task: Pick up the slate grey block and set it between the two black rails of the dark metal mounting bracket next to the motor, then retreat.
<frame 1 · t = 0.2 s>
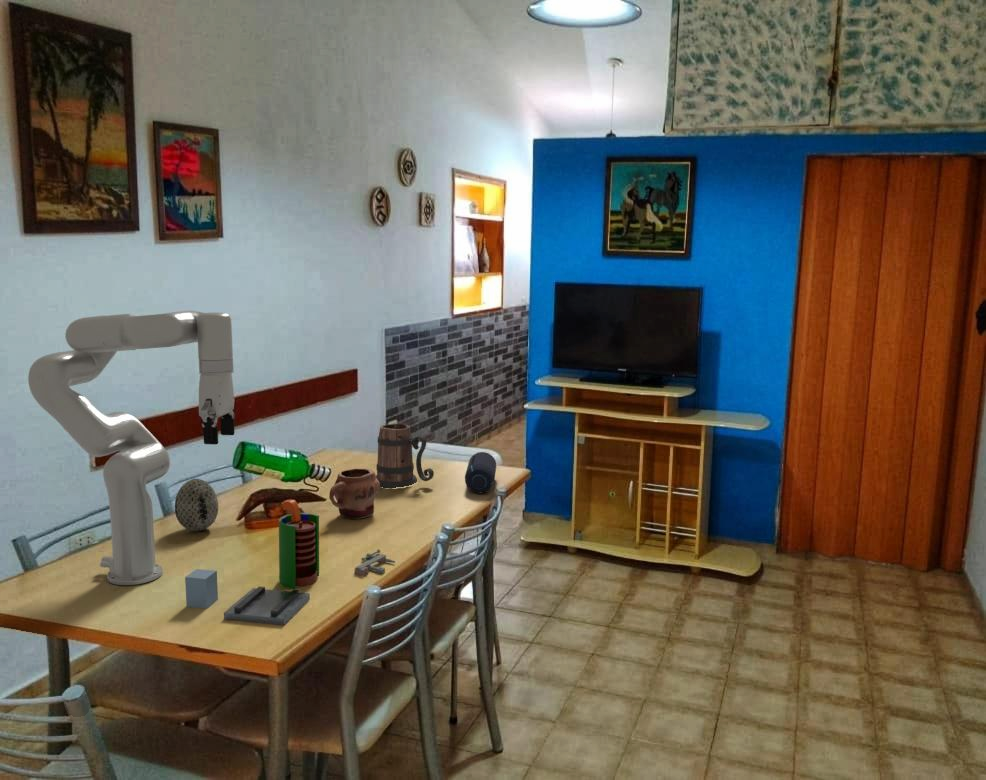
hand: (219, 439, 199), 36 cm above the table, tool pointing down, fingers open, 9 cm apart
clay mug: (353, 517, 258), on the table
motor: (298, 581, 208), on the table
mounting bracket: (268, 609, 192), on the table
decorative egg: (197, 530, 244), on the table
clamp: (375, 567, 219), on the table
tankard: (403, 484, 296), on the table
slate grey block: (202, 603, 194), on the table
portable speaker: (480, 486, 294), on the table
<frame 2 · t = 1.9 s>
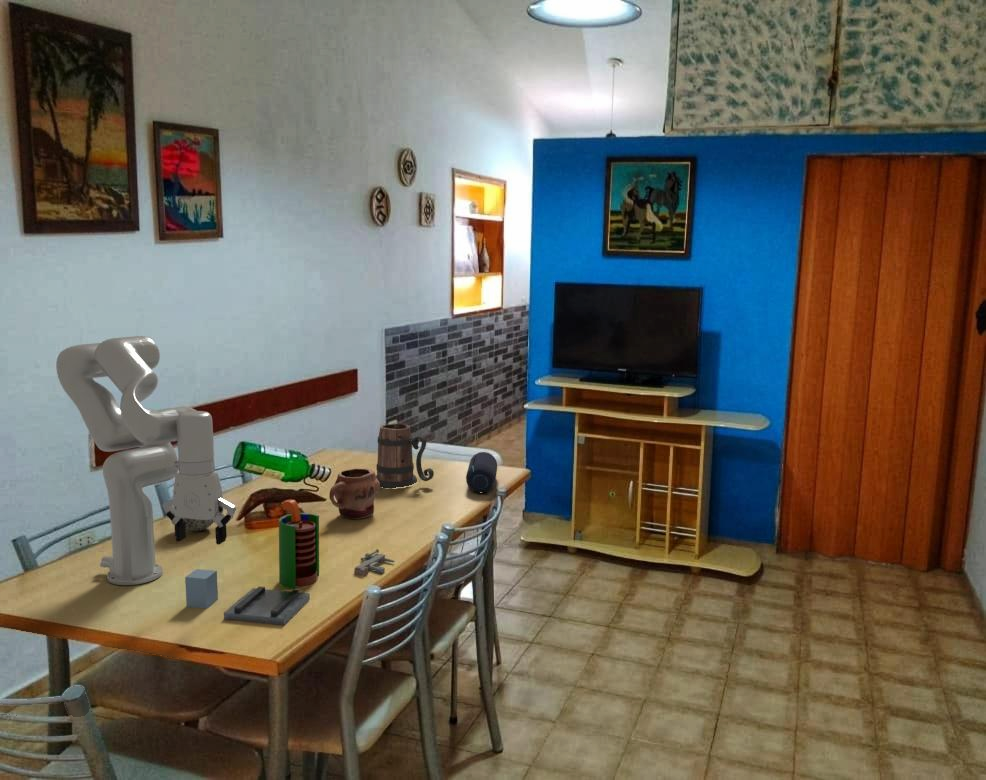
hand: (201, 541, 192), 15 cm above the table, tool pointing down, fingers open, 9 cm apart
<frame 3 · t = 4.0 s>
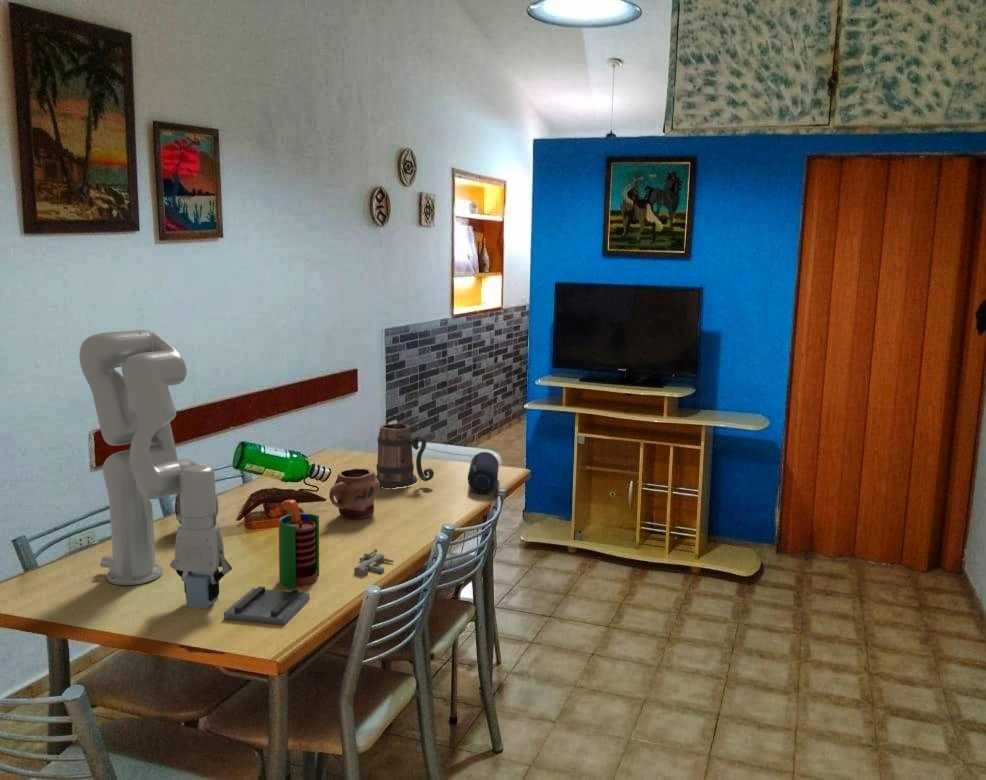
hand: (202, 596, 194), 1 cm above the table, tool pointing down, fingers closed on slate grey block, 5 cm apart
slate grey block: (202, 602, 194), on the table, touching gripper
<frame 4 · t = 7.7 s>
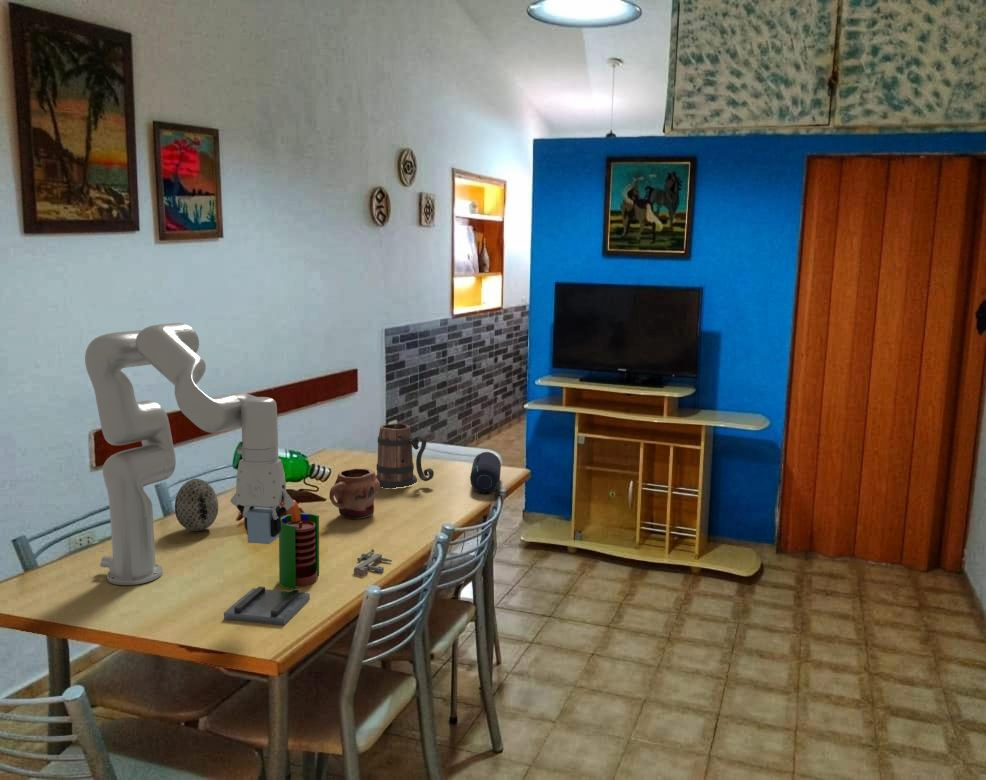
hand: (263, 533, 189), 18 cm above the table, tool pointing down, fingers closed on slate grey block, 5 cm apart
slate grey block: (263, 539, 189), point 16 cm above the table, touching gripper
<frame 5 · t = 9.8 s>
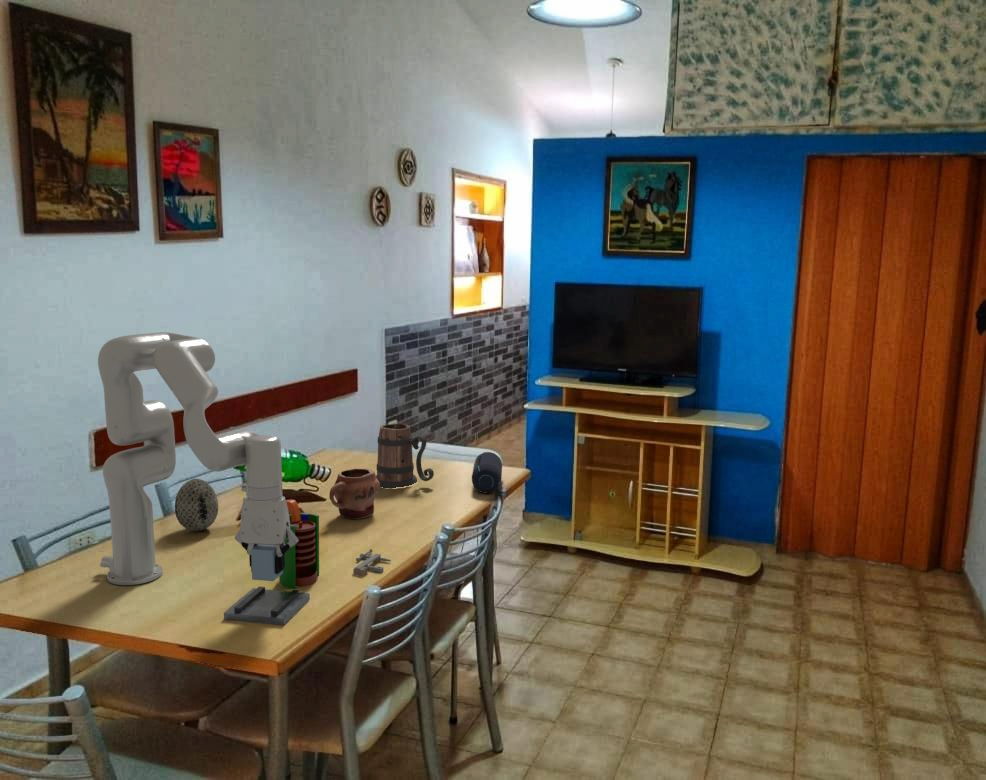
hand: (267, 570, 190), 9 cm above the table, tool pointing down, fingers closed on slate grey block, 5 cm apart
slate grey block: (267, 576, 190), point 8 cm above the table, touching gripper
when the fingers open (3 cm above the table, at t = 11.6 s): slate grey block stays where it is, resting on mounting bracket.
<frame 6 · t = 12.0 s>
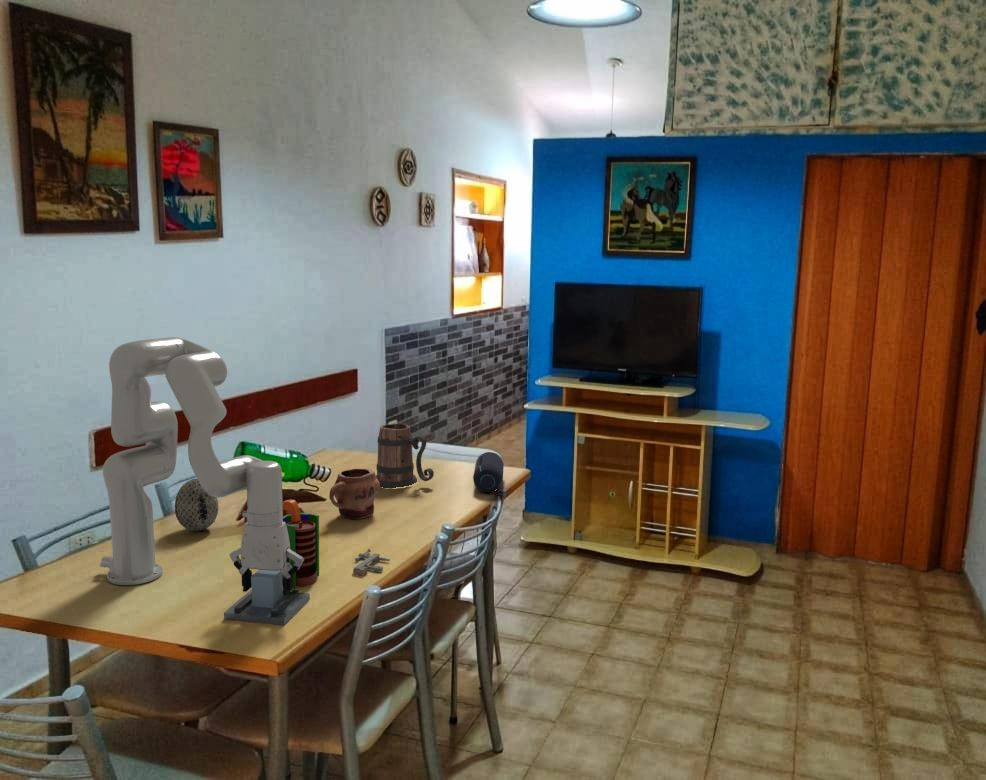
hand: (267, 591, 191), 4 cm above the table, tool pointing down, fingers open, 9 cm apart
slate grey block: (267, 602, 191), point 1 cm above the table, touching mounting bracket
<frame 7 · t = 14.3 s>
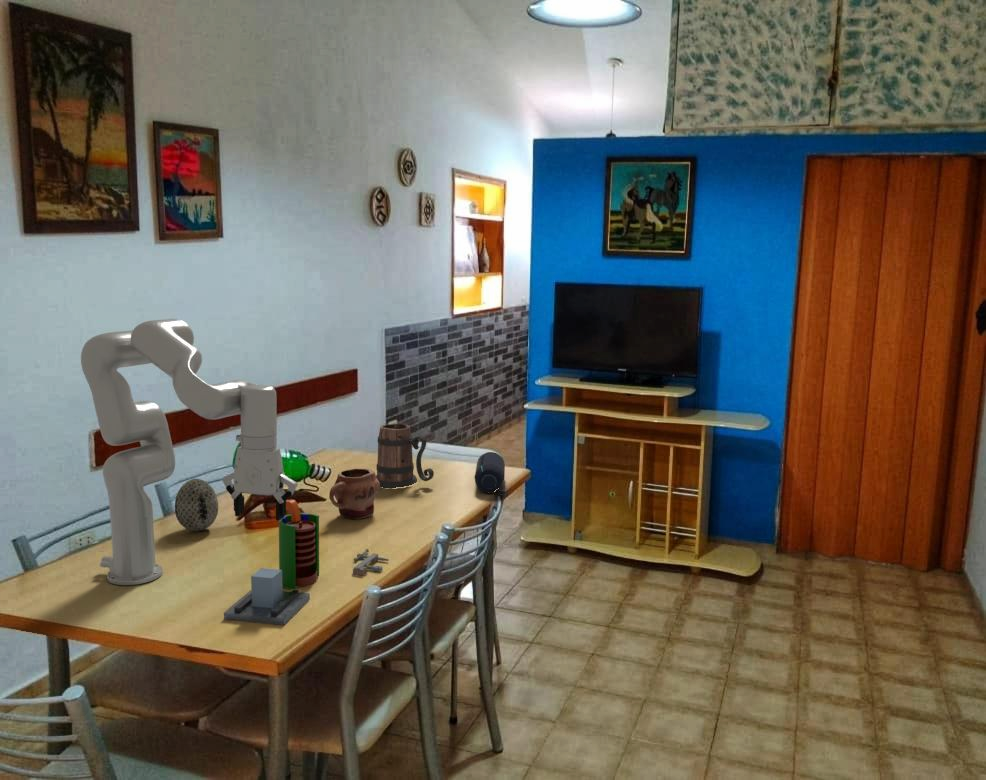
hand: (259, 516, 190), 21 cm above the table, tool pointing down, fingers open, 9 cm apart
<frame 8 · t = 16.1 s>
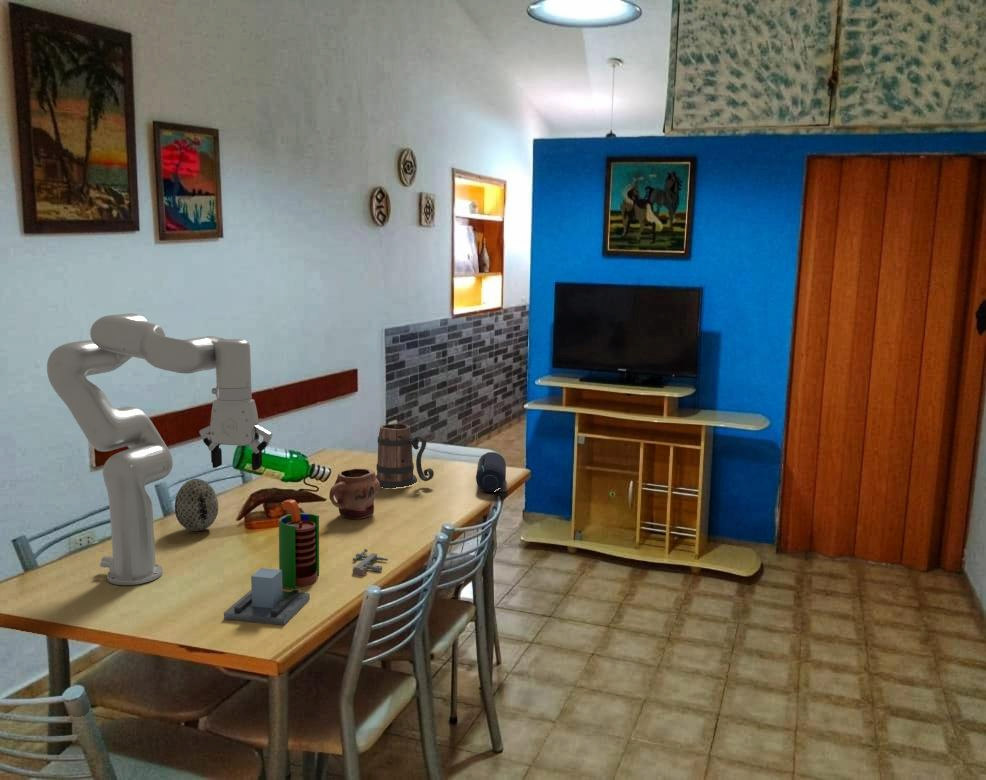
hand: (236, 467, 195), 30 cm above the table, tool pointing down, fingers open, 9 cm apart
at the end: slate grey block 0.1 cm off-centre on the mounting bracket, point 1.5 cm above the mounting bracket's base; slate grey block tilted 0°; the gripper is holding nothing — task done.
